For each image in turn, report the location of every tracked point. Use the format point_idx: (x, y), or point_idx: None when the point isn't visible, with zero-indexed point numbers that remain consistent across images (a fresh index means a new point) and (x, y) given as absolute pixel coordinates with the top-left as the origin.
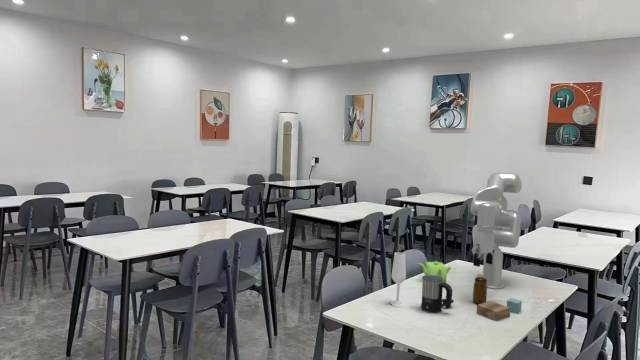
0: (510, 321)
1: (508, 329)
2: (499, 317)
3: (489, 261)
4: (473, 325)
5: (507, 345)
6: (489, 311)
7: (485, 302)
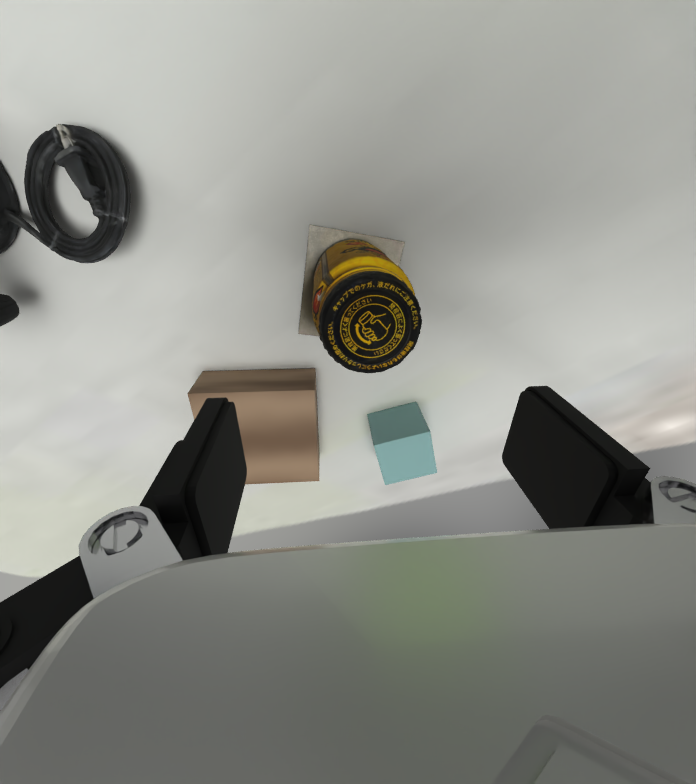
0: None
1: None
2: None
3: (525, 458)
4: (87, 442)
5: None
6: None
7: (266, 392)
